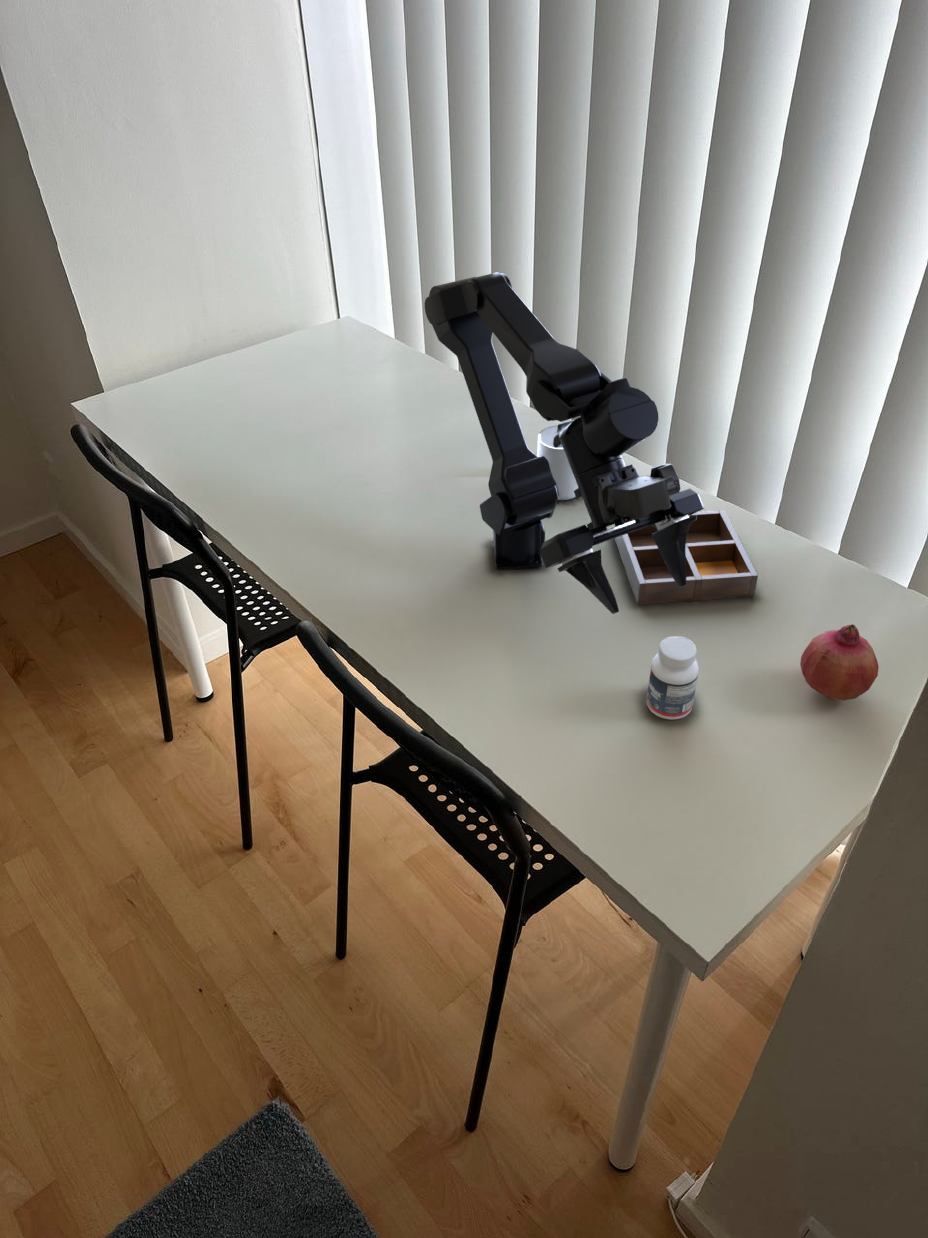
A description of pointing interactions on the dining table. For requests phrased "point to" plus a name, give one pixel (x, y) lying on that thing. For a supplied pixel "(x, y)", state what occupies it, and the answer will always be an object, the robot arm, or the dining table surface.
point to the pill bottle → (673, 678)
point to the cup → (557, 463)
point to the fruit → (839, 664)
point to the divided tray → (690, 563)
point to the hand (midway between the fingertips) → (649, 599)
